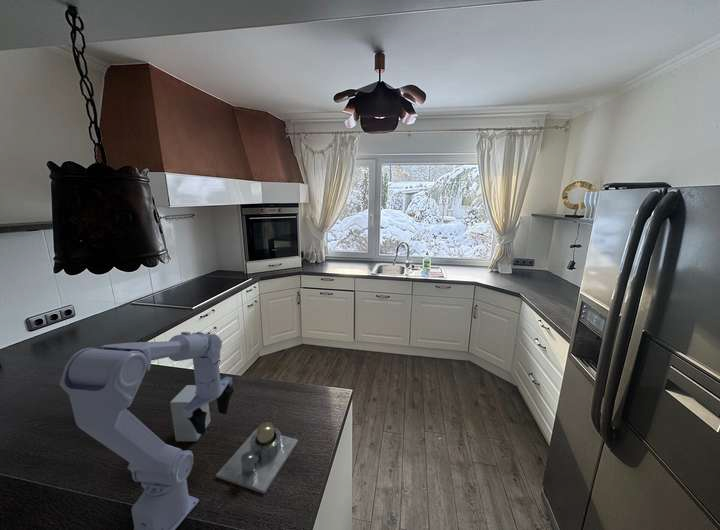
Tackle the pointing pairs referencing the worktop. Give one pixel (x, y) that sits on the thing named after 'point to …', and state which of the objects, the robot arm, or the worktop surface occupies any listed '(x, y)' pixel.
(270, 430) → the brass rounded plug
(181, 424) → the small box
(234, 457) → the manifold plate
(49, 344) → the worktop surface
